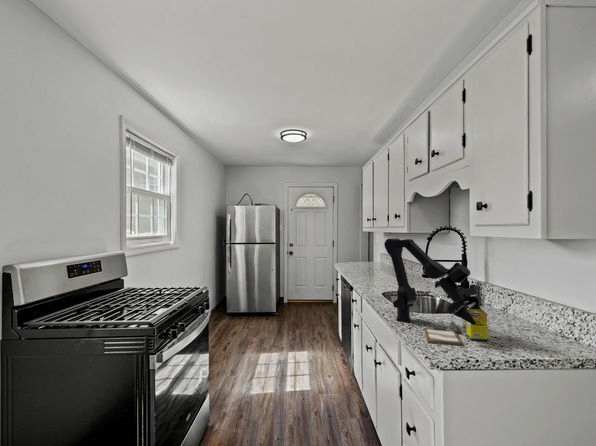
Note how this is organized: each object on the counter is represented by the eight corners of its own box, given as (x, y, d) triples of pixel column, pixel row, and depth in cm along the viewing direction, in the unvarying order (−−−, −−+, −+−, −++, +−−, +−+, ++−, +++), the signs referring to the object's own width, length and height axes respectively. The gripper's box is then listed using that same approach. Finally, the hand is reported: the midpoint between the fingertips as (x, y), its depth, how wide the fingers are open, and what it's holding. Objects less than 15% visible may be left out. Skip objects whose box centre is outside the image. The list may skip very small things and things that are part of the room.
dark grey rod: (452, 320, 147) (455, 323, 146) (449, 323, 147) (452, 326, 147) (458, 329, 134) (461, 332, 134) (455, 331, 135) (458, 335, 134)
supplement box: (487, 341, 125) (487, 313, 125) (470, 340, 126) (470, 312, 126) (482, 336, 131) (482, 309, 131) (466, 335, 132) (465, 308, 132)
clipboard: (424, 330, 139) (424, 326, 139) (454, 332, 136) (454, 328, 136) (427, 342, 124) (427, 338, 124) (462, 345, 121) (462, 341, 121)
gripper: (454, 280, 126) (484, 314, 117) (476, 275, 137) (506, 307, 129) (435, 297, 132) (463, 331, 123) (458, 291, 144) (485, 322, 135)
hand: (480, 322), depth 127 cm, fingers closed on supplement box, 8 cm apart
